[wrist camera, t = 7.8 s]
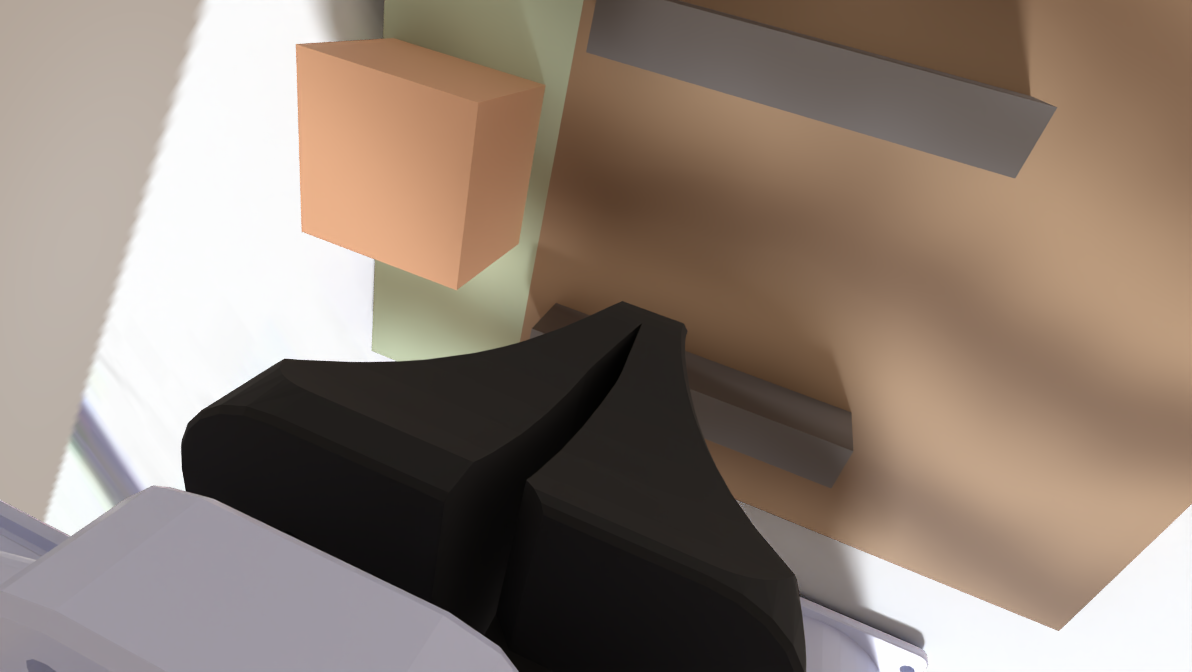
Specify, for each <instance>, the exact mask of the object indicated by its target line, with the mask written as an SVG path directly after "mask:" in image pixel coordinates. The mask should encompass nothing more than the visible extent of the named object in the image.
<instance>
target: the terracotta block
mask: <svg viewBox="0 0 1192 672" xmlns="http://www.w3.org/2000/svg"><path fill="white" fill-rule="evenodd" d="M296 63H297V95H298V127H299V159H300V191H301V224H302V232H304V233H307V234H310V235H312V236H315V237H317V238H320V239H323V240H325V241H328V242H331V243H333V244H336V245H338V246H341V247H344V248H346V249H349V250H352V251H354V252H357V253H360V254H362V255H365V256H367V257H370V258H373V259H375V260H378V261H381V262H383V263H386V264H389V265H391V266H394V267H396V268H399V269H402V270H404V271H407V272H410V273H412V274H415V275H417V276H420V277H423V278H425V279H428V280H431V281H433V282H436V283H439V284H441V285H444V286H446V287H449V288H452V289H454V290H458V289H459V288H460V287H462V286H463V285H464V284H466V283H467V282H468V281H470V280H471V279H472V278H474V277H475V276H476V275H478V274H479V273H480V272H482V271H483V270H484V269H486V268H487V267H488V266H490V265H491V264H492V263H494V262H495V261H496V260H498V259H499V258H500V257H502V256H503V255H504V254H506V253H507V252H508V251H510V250H511V249H512V248H514V247H515V246H516V245H518V244H519V239H520V233H521V227H522V221H523V215H524V209H525V203H526V198H527V192H528V186H529V180H530V174H531V168H532V162H533V156H534V150H535V145H536V139H537V133H538V127H539V121H540V115H541V109H542V103H543V97H544V92H545V86H546V85H544V84H541V83H537V82H534V81H531V80H528V79H524V78H521V77H518V76H515V75H511V74H508V73H505V72H502V71H499V70H495V69H492V68H489V67H486V66H482V65H479V64H476V63H473V62H469V61H466V60H463V59H460V58H456V57H453V56H450V55H447V54H443V53H440V52H437V51H434V50H431V49H427V48H424V47H421V46H418V45H414V44H411V43H408V42H405V41H401V40H398V39H395V38H385V39H369V40H354V41H338V42H322V43H306V44H296Z"/></svg>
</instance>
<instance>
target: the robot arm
mask: <svg viewBox="0 0 1192 672" xmlns="http://www.w3.org/2000/svg"><path fill="white" fill-rule="evenodd" d="M687 332H688V331H687V329H686V326H685V324H684V323H681V322H679V321H676V320H673V319H670V318H668V317H665V316H662V315H659V314H657V313H654V312H651V311H649V310H646V309H643V308H640V307H638V306H635V305H632V304H629V303H627V302H624V301H621V302H619V303H616V304H614V305H612V306H610V307H607V308H605V309H603V310H601V311H599V312H597V313H594V314H592V315H590V316H588V317H586V318H583V319H581V320H579V321H577V322H574V323H572V324H569V325H567V326H565V327H562V328H560V329H557V330H554V331H551V332H548V333H546V334H543V335H540V336H537V337H534V338H531V339H528V340H526V341H522V342H519V343H515V344H511V345H508V346H504V347H499V348H495V349H490V350H486V351H481V352H476V353H471V354H463V355H456V356H448V357H441V358H433V359H425V360H411V361H395V362H337V361H314V360H295V359H283V360H282V361H280V362H278V363H277V364H275V365H273V366H272V367H270V368H268V369H267V370H265V371H264V372H262V373H260V374H259V375H257V376H256V377H254V378H252V379H251V380H249V381H248V382H246V383H244V384H243V385H241V386H240V387H238V388H237V389H235V390H233V391H232V392H230V393H229V394H227V395H225V396H224V397H222V398H221V399H219V400H217V401H216V402H214V403H213V404H211V405H209V406H208V407H206V408H205V409H203V410H201V411H200V412H199V413H198V414H197V415H196V416H195V417H194V418H193V419H192V420H191V421H190V422H189V423H188V424H187V427H186V430H185V433H184V436H183V439H182V444H181V456H182V472H183V477H184V483H185V489H186V491H182V490H178V489H175V488H171V487H162V486H151V487H149V488H147V489H145V490H143V491H141V492H139V493H137V494H134V495H132V496H130V497H128V498H126V499H125V500H123V501H122V502H120V503H119V504H117V505H116V506H114V507H113V508H111V509H110V510H109V511H107V512H106V513H104V514H103V515H101V516H100V517H98V518H97V519H95V520H94V521H92V522H91V523H90V524H88V525H87V526H85V527H84V528H82V529H81V530H79V531H78V532H76V533H75V534H74V535H72V536H69V535H67V534H65V533H63V532H62V531H60V530H58V529H56V528H54V527H52V526H50V525H48V524H46V523H44V522H42V521H40V520H38V519H36V518H35V517H33V516H31V515H29V514H27V513H25V512H23V511H21V510H19V509H17V508H15V507H13V506H11V505H9V504H7V503H6V502H4V501H2V500H0V672H923V671H924V670H925V669H926V668H927V666H928V660H927V654H926V653H925V651H924V650H922V649H921V648H919V647H917V646H914V645H912V644H910V643H907V642H905V641H903V640H900V639H898V638H896V637H893V636H891V635H889V634H886V633H884V632H882V631H879V630H877V629H875V628H872V627H870V626H868V625H865V624H863V623H861V622H858V621H856V620H854V619H851V618H849V617H847V616H844V615H842V614H840V613H837V612H835V611H833V610H830V609H828V608H826V607H823V606H821V605H819V604H816V603H814V602H812V601H809V600H807V599H805V598H802V597H800V596H799V590H798V584H797V579H796V577H795V574H794V573H793V572H792V571H791V570H790V569H789V567H788V566H787V565H786V564H785V563H784V561H783V560H782V559H781V558H780V557H779V556H778V554H777V553H776V552H775V551H774V550H773V548H772V547H771V546H770V545H769V544H768V543H767V541H766V540H765V539H764V538H763V537H762V536H761V534H760V533H759V532H758V531H757V529H756V528H755V527H754V525H753V524H752V523H751V521H750V520H749V518H748V517H747V516H746V514H745V513H744V511H743V510H742V508H741V507H740V506H739V504H738V503H737V501H736V500H735V498H734V497H733V495H732V493H731V492H730V490H729V488H728V486H727V485H726V483H725V481H724V479H723V478H722V476H721V474H720V472H719V470H718V469H717V467H716V465H715V462H714V460H713V458H712V456H711V454H710V452H709V449H708V447H707V444H706V442H705V439H704V437H703V434H702V431H701V428H700V425H699V422H698V419H697V416H696V412H695V409H694V405H693V401H692V397H691V392H690V388H689V382H688V375H687V369H686V359H685V339H686V335H687ZM905 665H907V666H905Z"/></svg>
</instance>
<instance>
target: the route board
mask: <svg viewBox="0 0 1192 672" xmlns="http://www.w3.org/2000/svg"><path fill="white" fill-rule="evenodd" d="M385 38H395V39H398V40H401V41H405V42H408V43H411V44H414V45H418V46H421V47H424V48H427V49H431V50H434V51H437V52H440V53H443V54H447V55H450V56H453V57H456V58H460V59H463V60H466V61H469V62H473V63H476V64H479V65H482V66H486V67H489V68H492V69H495V70H499V71H502V72H505V73H508V74H511V75H515V76H518V77H521V78H524V79H528V80H531V81H534V82H537V83H541V84H544V85H546V86H545V92H544V97H543V103H542V109H541V115H540V121H539V127H538V133H537V139H536V145H535V150H534V156H533V162H532V168H531V174H530V180H529V186H528V192H527V198H526V203H525V209H524V215H523V221H522V227H521V233H520V239H519V244H518V245H516V246H515V247H514V248H512V249H511V250H510V251H508V252H507V253H506V254H504V255H503V256H502V257H500V258H499V259H498V260H496V261H495V262H494V263H492V264H491V265H490V266H488V267H487V268H486V269H484V270H483V271H482V272H480V273H479V274H478V275H476V276H475V277H474V278H472V279H471V280H470V281H468V282H467V283H466V284H464V285H463V286H462V287H460V288H459V289H458V290H454V289H452V288H449V287H446V286H444V285H441V284H439V283H436V282H433V281H431V280H428V279H425V278H423V277H420V276H417V275H415V274H412V273H410V272H407V271H404V270H402V269H399V268H396V267H394V266H391V265H389V264H386V263H383V262H381V261H378V260H375V274H374V302H373V330H372V351H373V352H376V353H378V354H381V355H383V356H386V357H388V358H391V359H393V360H396V361H411V360H425V359H433V358H441V357H448V356H456V355H463V354H471V353H476V352H481V351H486V350H490V349H495V348H499V347H504V346H508V345H511V344H515V343H519V342H522V341H526V340H528V339H531V338H534V337H537V336H540V335H543V334H546V333H548V332H551V331H554V330H557V329H560V328H562V327H565V326H567V325H569V324H572V323H574V322H577V321H579V320H581V319H583V318H586V317H588V316H590V315H592V314H594V313H597V312H599V311H601V310H603V309H605V308H607V307H610V306H612V305H614V304H616V303H619V302H621V301H624V302H627V303H629V304H632V305H635V306H638V307H640V308H643V309H646V310H649V311H651V312H654V313H657V314H659V315H662V316H665V317H668V318H670V319H673V320H676V321H679V322H681V323H684V324H685V326H686V329H687V331H688V332H687V335H686V339H685V359H686V369H687V375H688V382H689V388H690V392H691V397H692V401H693V405H694V409H695V412H696V416H697V419H698V422H699V425H700V428H701V431H702V434H703V437H704V439H705V442H706V444H707V447H708V449H709V452H710V454H711V456H712V458H713V460H714V462H715V465H716V467H717V469H718V470H719V472H720V474H721V476H722V478H723V479H724V481H725V483H726V485H727V486H728V488H729V490H730V492H731V493H732V495H733V497H734V498H735V499H736V500H739V501H741V502H744V503H746V504H749V505H751V506H754V507H756V508H758V509H761V510H763V511H766V512H768V513H771V514H773V515H776V516H778V517H781V518H783V519H785V520H788V521H790V522H793V523H795V524H798V525H800V526H803V527H805V528H807V529H810V530H812V531H815V532H817V533H820V534H822V535H825V536H827V537H830V538H832V539H834V540H837V541H839V542H842V543H844V544H847V545H849V546H852V547H854V548H857V549H859V550H861V551H864V552H866V553H869V554H871V555H874V556H876V557H879V558H881V559H884V560H886V561H888V562H891V563H893V564H896V565H898V566H901V567H903V568H906V569H908V570H910V571H913V572H915V573H918V574H920V575H923V576H925V577H928V578H930V579H933V580H935V581H937V582H940V583H942V584H945V585H947V586H950V587H952V588H955V589H957V590H960V591H962V592H964V593H967V594H969V595H972V596H974V597H977V598H979V599H982V600H984V601H986V602H989V603H991V604H994V605H996V606H999V607H1001V608H1004V609H1006V610H1009V611H1011V612H1013V613H1016V614H1018V615H1021V616H1023V617H1026V618H1028V619H1031V620H1033V621H1036V622H1038V623H1040V624H1043V625H1045V626H1048V627H1050V628H1053V629H1055V630H1058V631H1059V630H1060V629H1061V628H1063V627H1064V626H1065V625H1066V624H1067V623H1068V622H1069V621H1070V620H1071V619H1072V618H1073V617H1074V616H1075V615H1076V614H1077V613H1078V612H1079V611H1080V610H1081V609H1082V608H1083V607H1084V606H1086V605H1087V604H1088V603H1089V602H1090V601H1091V600H1092V599H1093V598H1094V597H1095V596H1096V595H1097V594H1098V593H1099V592H1100V591H1101V590H1102V589H1103V588H1104V587H1105V586H1106V585H1107V584H1109V583H1110V582H1111V581H1112V580H1113V579H1114V578H1115V577H1116V576H1117V575H1118V574H1119V573H1120V572H1121V571H1122V570H1123V569H1124V568H1125V567H1126V566H1127V565H1128V564H1129V563H1130V562H1132V561H1133V560H1134V559H1135V558H1136V557H1137V556H1138V555H1139V554H1140V553H1141V552H1142V551H1143V550H1144V549H1145V548H1146V547H1147V546H1148V545H1149V544H1150V543H1151V542H1152V541H1153V540H1155V539H1156V538H1157V537H1158V536H1159V535H1160V534H1161V533H1162V532H1163V531H1164V530H1165V529H1166V528H1167V527H1168V526H1169V525H1170V524H1171V523H1172V522H1173V521H1174V520H1175V519H1176V518H1178V517H1179V516H1180V515H1181V514H1182V513H1183V512H1184V511H1185V510H1186V509H1187V508H1188V507H1189V506H1190V505H1191V504H1192V0H384V25H383V39H385Z"/></svg>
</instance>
